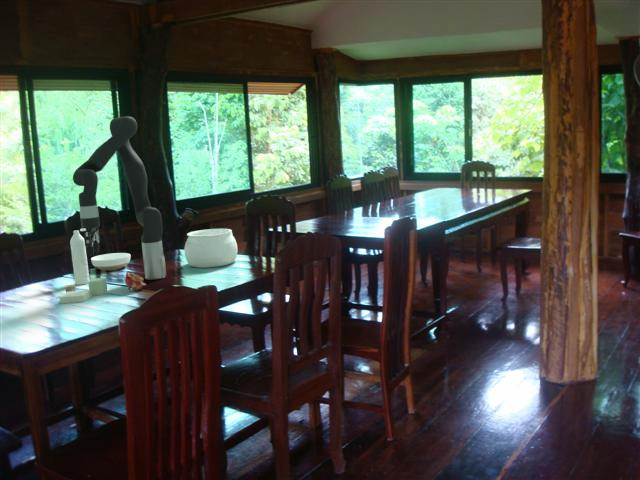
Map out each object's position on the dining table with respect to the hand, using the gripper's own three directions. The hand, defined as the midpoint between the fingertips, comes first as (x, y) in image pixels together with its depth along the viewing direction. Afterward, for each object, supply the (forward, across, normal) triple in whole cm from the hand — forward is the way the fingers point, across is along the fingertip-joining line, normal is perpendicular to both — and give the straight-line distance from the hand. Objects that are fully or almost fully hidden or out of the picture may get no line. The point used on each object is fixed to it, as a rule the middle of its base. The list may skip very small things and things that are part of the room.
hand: (93, 253), depth 293 cm
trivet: (+17, -9, +7) cm, 21 cm away
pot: (+17, +49, -44) cm, 68 cm away
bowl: (+18, +56, +8) cm, 59 cm away
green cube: (+18, 0, 0) cm, 18 cm away
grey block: (+18, +1, +12) cm, 21 cm away
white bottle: (+18, +24, +13) cm, 32 cm away
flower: (+18, +1, -16) cm, 24 cm away
